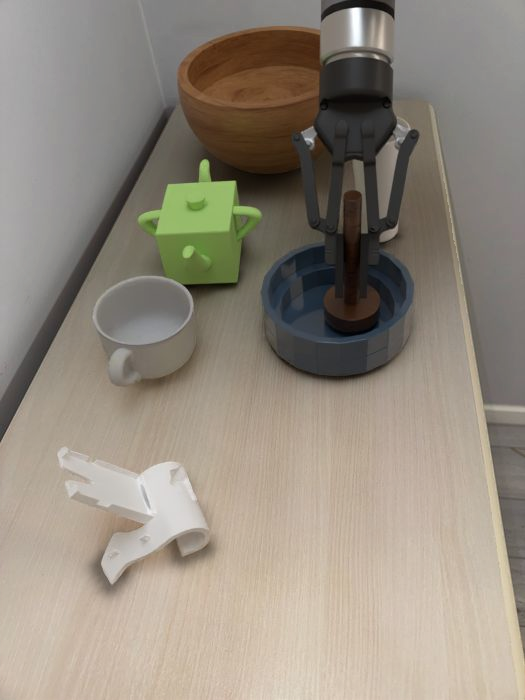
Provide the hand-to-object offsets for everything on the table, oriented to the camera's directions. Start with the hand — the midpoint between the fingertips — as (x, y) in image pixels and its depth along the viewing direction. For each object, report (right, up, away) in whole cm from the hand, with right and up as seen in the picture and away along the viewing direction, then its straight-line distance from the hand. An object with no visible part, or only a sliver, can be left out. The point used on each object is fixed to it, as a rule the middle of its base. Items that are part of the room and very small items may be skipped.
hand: (351, 297), depth 70 cm
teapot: (-16, +6, +18) cm, 25 cm away
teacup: (-22, -7, +7) cm, 24 cm away
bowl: (-7, +24, +33) cm, 42 cm away
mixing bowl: (-1, -3, +8) cm, 9 cm away
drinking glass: (+6, +10, +19) cm, 23 cm away
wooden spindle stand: (+1, -1, +7) cm, 7 cm away
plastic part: (-19, -22, -7) cm, 31 cm away
